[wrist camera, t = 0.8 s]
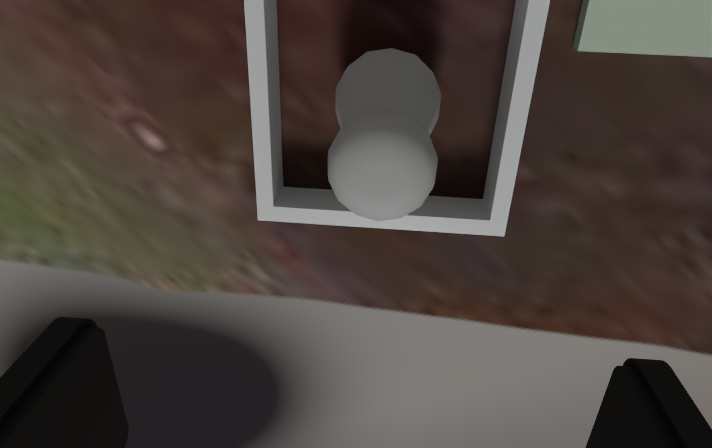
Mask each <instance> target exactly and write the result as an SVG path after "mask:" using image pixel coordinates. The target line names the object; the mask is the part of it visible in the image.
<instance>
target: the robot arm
mask: <svg viewBox="0 0 712 448" xmlns="http://www.w3.org/2000/svg"><path fill="white" fill-rule="evenodd" d="M128 431H129V429H128V423H127V419H126V415H125V411H124V408H123V404H122V400H121V396H120V392H119V388H118V384H117V380H116V376H115V372H114V368H113V364H112V360H111V356H110V352H109V348H108V344H107V340H106V336H105V333H104V331H103V329H102V328H97V326H96V323H95V322H94V321H93V320H90V319H82V318H67V317H60V318H56V319H55V320H54V321H53V322H52V323H51V324H50V325H49V326H48V327H47V328H46V329H45V330H44V331H43V332H42V333H41V334H40V335H39V337H38V338H37V339H36V340H35V341H34V342H33V343H32V344H31V345H30V346H29V347H28V348H27V349H26V351H25V352H24V353H23V354H22V355H21V356H20V357H19V358H18V359H17V360H16V361H15V363H14V364H13V365H12V366H11V367H10V368H9V369H8V370H7V371H6V372H5V373H4V374H3V375H2V377H1V378H0V448H124V447H125V445H126V442H127V438H128ZM586 448H712V429H711V428H710V426H709V425H708V423H707V422H706V420H705V419H704V417H703V415H702V414H701V412H700V411H699V409H698V408H697V406H696V405H695V404H694V402H693V400H692V399H691V397H690V396H689V394H688V393H687V391H686V390H685V388H684V387H683V385H682V384H681V382H680V381H679V379H678V378H677V376H676V375H675V373H674V372H673V370H672V368H671V367H670V366H669V365H668V364H667V363H666V362H664V361H661V360H649V359H633V358H630V359H627V360H626V361H625V362H624V364H623V366H616V367H615V369H614V370H613V373H612V376H611V378H610V381H609V384H608V387H607V390H606V392H605V395H604V398H603V401H602V403H601V406H600V409H599V412H598V415H597V417H596V420H595V423H594V426H593V429H592V431H591V434H590V437H589V440H588V443H587V445H586Z"/></svg>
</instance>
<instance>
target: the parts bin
mask: <svg viewBox="0 0 712 448" xmlns="http://www.w3.org/2000/svg"><path fill="white" fill-rule="evenodd" d="M549 3H550V0H516V2H515V8H514V14H513V20H512V26H511V32H510V38H509V44H508V50H507V56H506V62H505V68H504V74H503V81H502V87H501V93H500V99H499V105H498V111H497V117H496V123H495V129H494V135H493V141H492V147H491V153H490V159H489V165H488V172H487V178H486V184H485V190H484V196H483V199H473V198H457V197H441V196H427V198H426V199H425V201H424V202H423V204H422V205H421V207H419V208H418V209H416V210H414V211H412V212H411V213H409V214H407V215H406V216H404V217H402V218H399V219H391V220H384V221H375V220H372V219H368V218H365V217H361V216H358V215H355V214H354V213H353V212H352V211H350V210H349V209H348V208H347V207H345V206H344V205H343V204H342V203H340V202H339V201H338V200H337V198H336V195H335V193H334V191H333V190H328V189H312V188H296V187H283V164H282V137H281V109H280V81H279V54H278V26H277V0H244V8H245V24H246V39H247V55H248V71H249V87H250V102H251V118H252V134H253V150H254V165H255V181H256V197H257V213H258V220H263V221H278V222H293V223H308V224H324V225H339V226H354V227H369V228H384V229H400V230H415V231H430V232H445V233H460V234H476V235H491V236H504V235H505V230H506V225H507V220H508V215H509V210H510V204H511V199H512V194H513V189H514V184H515V179H516V173H517V168H518V163H519V158H520V153H521V148H522V142H523V137H524V132H525V127H526V122H527V117H528V112H529V106H530V101H531V96H532V91H533V86H534V81H535V75H536V70H537V65H538V60H539V55H540V50H541V44H542V39H543V34H544V29H545V24H546V19H547V13H548V8H549Z"/></svg>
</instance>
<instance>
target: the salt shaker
mask: <svg viewBox="0 0 712 448" xmlns="http://www.w3.org/2000/svg"><path fill="white" fill-rule="evenodd" d="M440 101H441V92H440V90H439V87H438V84H437V82H436V79H435V76H434V74H433V72H432V71H431V70H430V69H429V68H428V67H427V66H426V65H425V64H424V63H423V62H422V61H421V60H420V59H419V58H418V57H417V56H416V55H415V54H411V53H408V52H404V51H401V50H397V49H393V48H388V49H382V50H375V51H368V52H366V53H365V54H363V55H362V56H361V57H360V58H358V59H357V60H356V61H354V62H353V63H352V64H350V65H349V66H348V67H347V68H346V70H345V72H344V74H343V76H342V78H341V79H340V81H339V83H338V85H337V87H336V115H337V118H338V122H339V125H340V131H339V132H338V134H337V136H336V138H335V140H334V141H333V143H332V145H331V147H330V148H329V150H328V180H329V182H330V185H331V187H332V189H333V191H334V193H335V195H336V198H337V200H338V201H339V202H340V203H342V204H343V205H344V206H345V207H347V208H348V209H349V210H350V211H352V212H353V213H354V214H355V215H358V216H361V217H365V218H368V219H372V220H375V221H384V220H391V219H399V218H402V217H404V216H406V215H407V214H409V213H411V212H412V211H414V210H416V209H418V208H419V207H421V205H422V204H423V202H424V201H425V199H426V198H427V196H428V195H429V193H430V192H431V190H432V189H433V187H434V183H435V178H436V171H437V164H438V157H437V154H436V152H435V149H434V146H433V144H432V141H431V139H430V134H431V132H432V130H433V128H434V126H435V124H436V122H437V120H438V115H439V108H440Z"/></svg>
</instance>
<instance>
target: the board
mask: <svg viewBox="0 0 712 448" xmlns="http://www.w3.org/2000/svg"><path fill="white" fill-rule="evenodd" d="M572 48H574V49H575V50H577V51H590V52H612V53H633V54H654V55H676V56H697V57H712V0H583V2H582V6H581V11H580V16H579V20H578V25H577V29H576V34H575V38H574V43H573V47H572Z"/></svg>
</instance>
